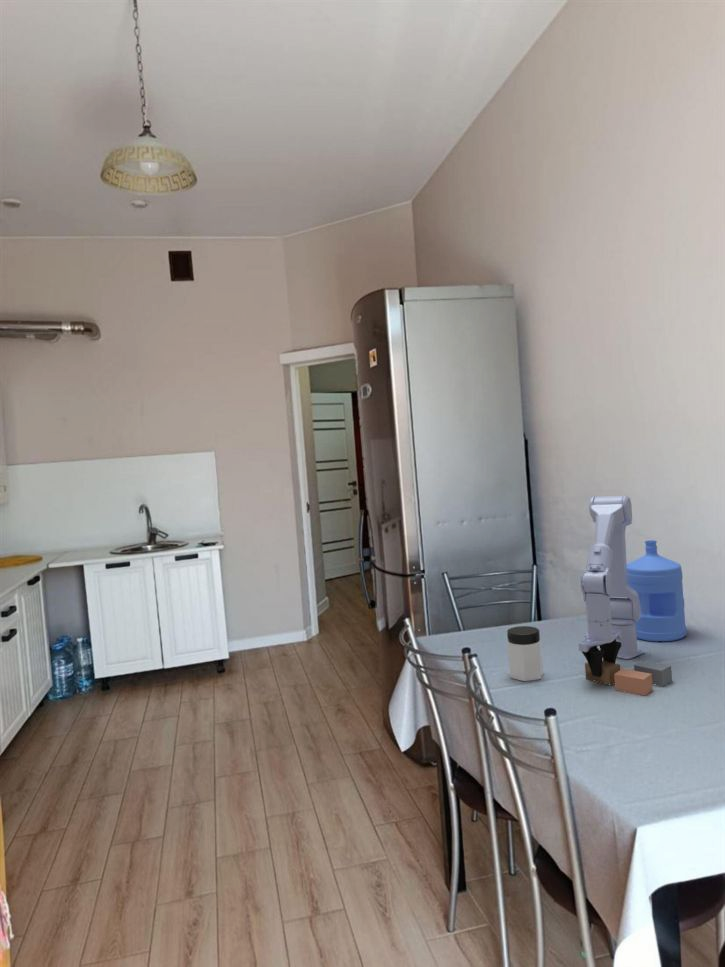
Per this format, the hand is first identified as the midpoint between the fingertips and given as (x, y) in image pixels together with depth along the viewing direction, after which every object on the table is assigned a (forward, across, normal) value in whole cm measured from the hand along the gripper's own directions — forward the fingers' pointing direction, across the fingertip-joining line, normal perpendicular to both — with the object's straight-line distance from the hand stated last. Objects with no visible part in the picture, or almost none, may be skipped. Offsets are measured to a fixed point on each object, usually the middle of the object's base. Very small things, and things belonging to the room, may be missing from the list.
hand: (603, 673), depth 164 cm
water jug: (+2, -41, -11) cm, 42 cm away
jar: (+2, +10, -16) cm, 19 cm away
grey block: (+2, -7, +9) cm, 12 cm away
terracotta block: (+2, +1, +9) cm, 9 cm away
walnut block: (+2, 0, 0) cm, 2 cm away
